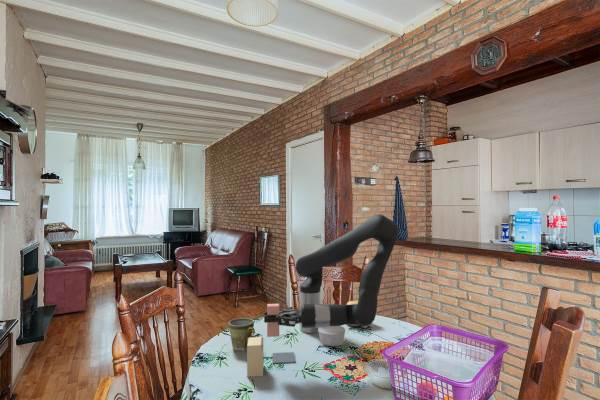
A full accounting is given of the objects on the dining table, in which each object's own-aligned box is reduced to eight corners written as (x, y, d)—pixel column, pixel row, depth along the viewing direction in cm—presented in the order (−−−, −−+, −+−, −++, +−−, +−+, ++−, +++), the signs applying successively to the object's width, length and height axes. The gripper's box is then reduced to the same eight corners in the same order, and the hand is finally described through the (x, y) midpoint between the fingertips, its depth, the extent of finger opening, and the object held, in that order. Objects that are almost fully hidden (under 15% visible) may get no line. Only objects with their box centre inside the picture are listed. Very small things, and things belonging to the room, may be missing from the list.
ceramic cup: (223, 347, 131) (223, 322, 131) (243, 340, 138) (243, 316, 139) (243, 357, 122) (243, 329, 123) (264, 349, 130) (264, 323, 130)
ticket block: (265, 366, 115) (265, 336, 115) (265, 376, 108) (265, 344, 108) (248, 367, 114) (248, 337, 115) (247, 377, 107) (247, 345, 108)
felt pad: (272, 354, 125) (272, 353, 125) (293, 353, 126) (293, 352, 126) (272, 363, 117) (272, 362, 117) (295, 362, 118) (295, 361, 118)
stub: (279, 333, 114) (279, 303, 114) (279, 336, 111) (279, 306, 111) (267, 333, 114) (267, 303, 114) (267, 336, 111) (267, 306, 111)
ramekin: (327, 349, 129) (327, 335, 129) (313, 339, 139) (313, 327, 139) (351, 344, 134) (350, 330, 134) (335, 335, 144) (335, 322, 144)
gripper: (312, 299, 121) (264, 300, 119) (318, 310, 107) (263, 312, 105) (312, 320, 121) (264, 321, 119) (318, 334, 107) (263, 336, 105)
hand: (264, 317), depth 112 cm, fingers closed on stub, 3 cm apart
